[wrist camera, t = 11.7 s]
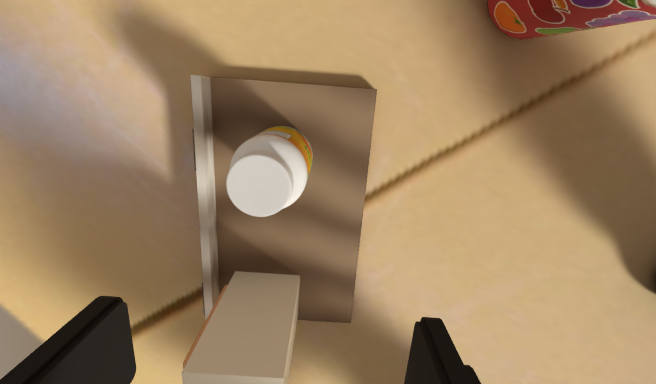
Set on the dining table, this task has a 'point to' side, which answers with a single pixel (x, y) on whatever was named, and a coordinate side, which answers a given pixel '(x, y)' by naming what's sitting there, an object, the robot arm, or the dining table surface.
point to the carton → (247, 332)
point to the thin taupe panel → (307, 211)
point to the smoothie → (565, 15)
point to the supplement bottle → (269, 171)
